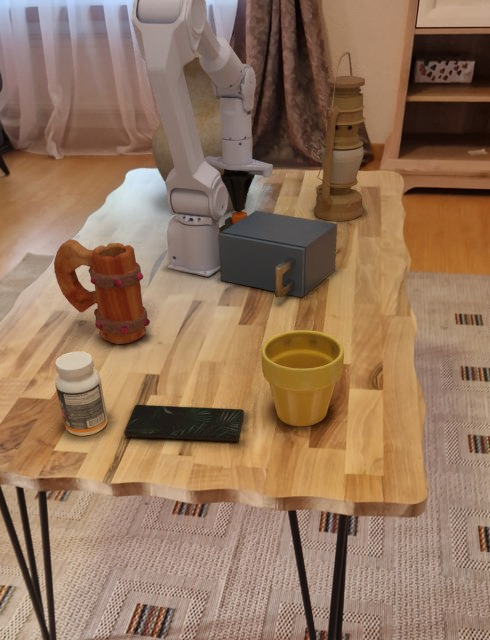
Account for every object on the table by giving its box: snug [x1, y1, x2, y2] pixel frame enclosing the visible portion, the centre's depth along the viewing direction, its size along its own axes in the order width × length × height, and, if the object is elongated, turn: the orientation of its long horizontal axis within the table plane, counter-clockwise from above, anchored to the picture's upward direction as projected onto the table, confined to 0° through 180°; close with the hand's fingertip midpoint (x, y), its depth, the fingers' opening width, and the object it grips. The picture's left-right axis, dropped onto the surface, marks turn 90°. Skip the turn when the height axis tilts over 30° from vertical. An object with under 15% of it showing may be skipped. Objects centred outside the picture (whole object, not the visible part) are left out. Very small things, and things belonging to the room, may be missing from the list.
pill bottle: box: [54, 350, 108, 437], centre depth 95 cm, size 6×6×10 cm
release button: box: [231, 210, 248, 224], centre depth 147 cm, size 3×3×2 cm
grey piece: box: [218, 233, 305, 299], centre depth 125 cm, size 6×17×8 cm, turn 58°
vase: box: [151, 51, 254, 213], centre depth 155 cm, size 22×22×30 cm
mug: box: [53, 238, 151, 345], centre depth 113 cm, size 15×8×15 cm, turn 71°
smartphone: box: [123, 404, 245, 443], centre depth 96 cm, size 7×1×15 cm
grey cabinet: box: [222, 210, 338, 297], centre depth 130 cm, size 12×17×9 cm
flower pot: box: [260, 329, 345, 427], centre depth 94 cm, size 10×10×10 cm
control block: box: [219, 216, 234, 233], centre depth 148 cm, size 9×7×3 cm
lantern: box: [313, 50, 366, 222], centre depth 147 cm, size 15×10×30 cm
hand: (239, 210), depth 146 cm, fingers closed
